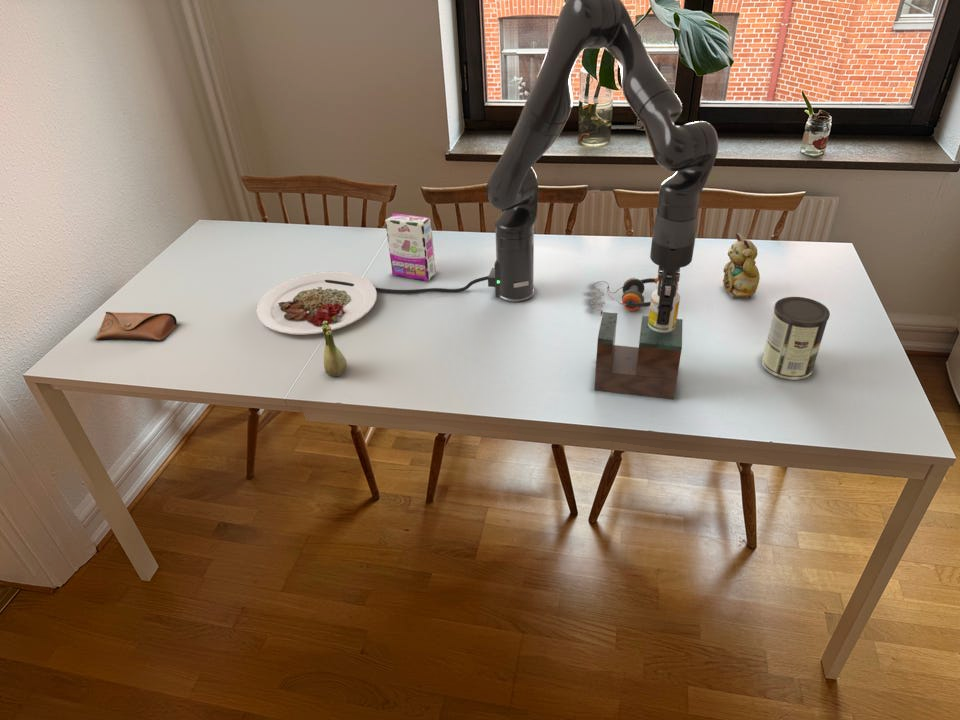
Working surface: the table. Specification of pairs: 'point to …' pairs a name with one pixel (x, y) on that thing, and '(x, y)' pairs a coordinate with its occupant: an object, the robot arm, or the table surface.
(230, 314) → the table surface
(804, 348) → the coffee can
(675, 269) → the robot arm
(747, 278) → the decorative figurine
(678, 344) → the notched wooden block
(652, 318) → the supplement bottle
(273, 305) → the plated food
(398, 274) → the candy bar box
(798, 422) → the table surface
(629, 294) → the headphones
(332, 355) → the fennel bulb
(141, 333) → the sunglasses case
